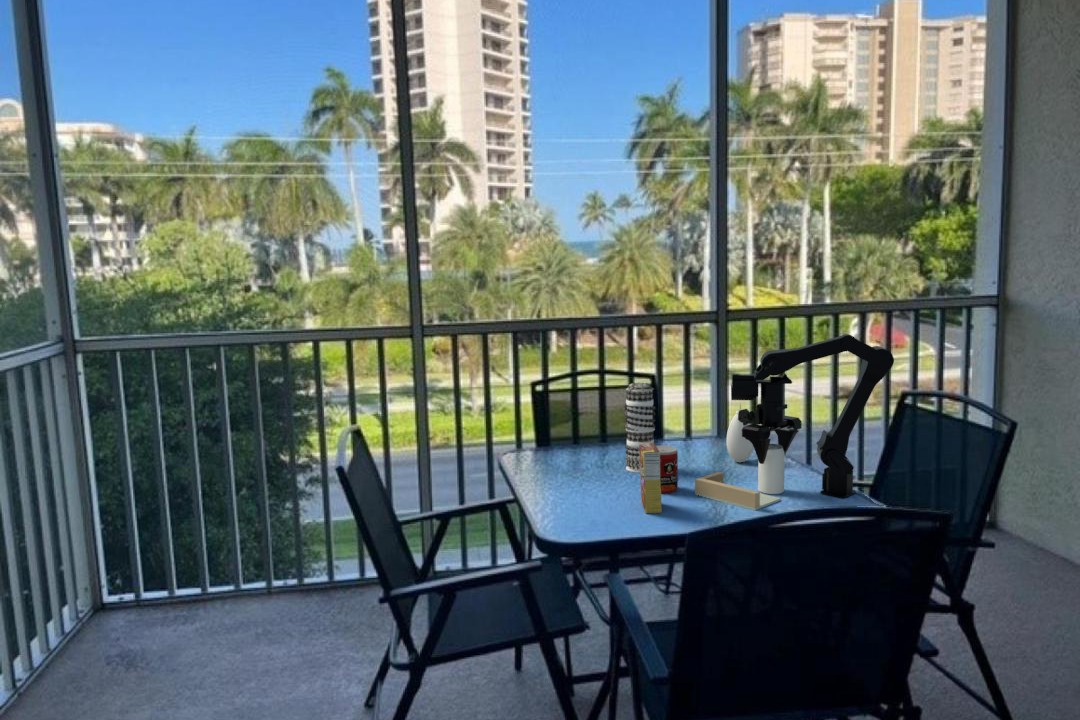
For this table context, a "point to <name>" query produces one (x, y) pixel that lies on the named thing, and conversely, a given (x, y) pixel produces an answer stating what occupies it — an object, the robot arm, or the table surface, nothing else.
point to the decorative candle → (638, 422)
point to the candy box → (650, 478)
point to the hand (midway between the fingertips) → (771, 460)
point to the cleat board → (731, 493)
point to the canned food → (668, 468)
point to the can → (772, 471)
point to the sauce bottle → (738, 440)
